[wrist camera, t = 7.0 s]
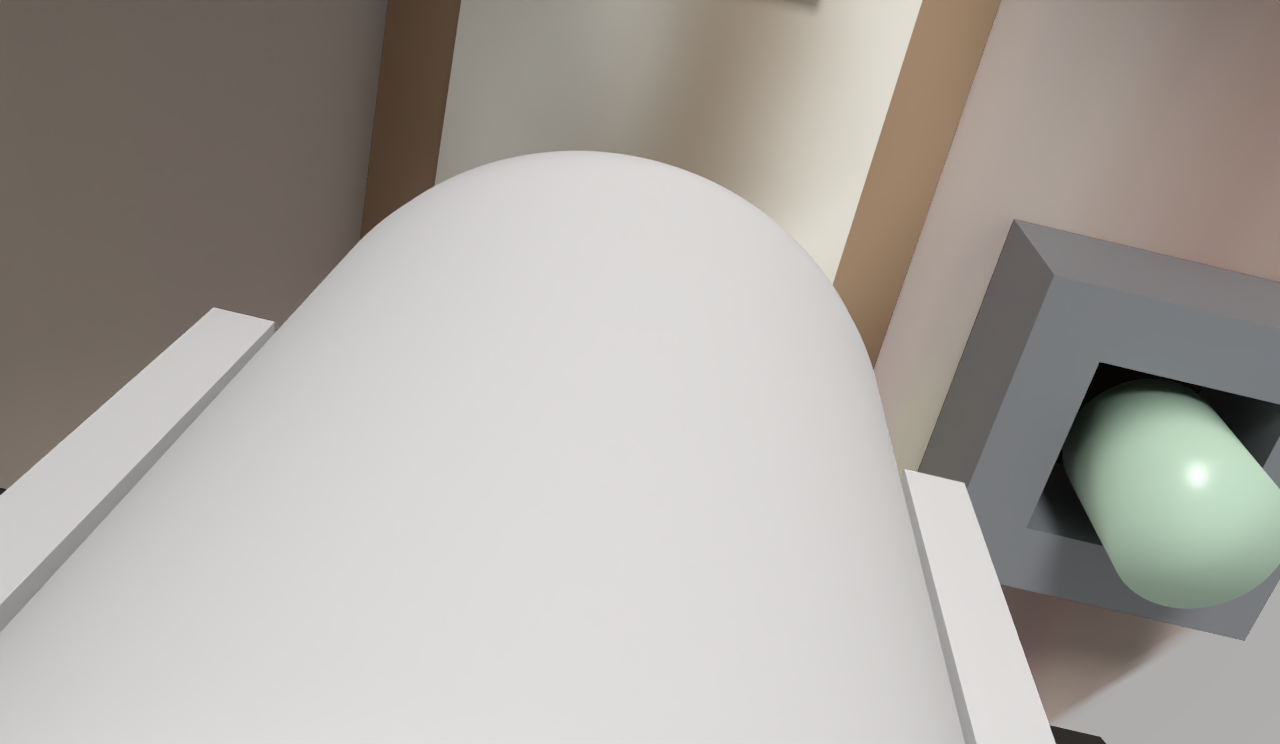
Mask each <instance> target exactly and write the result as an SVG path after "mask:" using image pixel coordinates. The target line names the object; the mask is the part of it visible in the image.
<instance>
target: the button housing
mask: <svg viewBox="0 0 1280 744" xmlns="http://www.w3.org/2000/svg"><path fill="white" fill-rule="evenodd" d="M1099 362H1102V363H1106V364H1111V365H1115V366H1119V367H1123V368H1128V369H1132V370H1136V371H1140V372H1145V373H1149V374H1153V375H1157V376H1161V377H1166V378H1170V379H1174V380H1178V381H1183V382H1187V383H1191V384H1195V385H1200V386H1202V388H1201V390H1200V392H1199V394H1200V395H1201V396H1202V397H1203V398H1204V399H1205V400H1206V401H1207V402H1208V404H1209V405H1210V406H1211V407H1212V408H1213V410H1214V411H1215V412H1216V413H1217V414H1218V416H1219V417H1220V418H1221V419H1222V420H1223V422H1224V423H1225V424H1226V425H1227V426H1228V428H1229V429H1230V430H1231V431H1232V432H1233V434H1234V435H1235V436H1236V437H1237V438H1238V440H1239V441H1240V442H1241V443H1242V444H1243V446H1244V447H1245V448H1246V449H1247V450H1248V452H1249V453H1250V454H1251V455H1252V456H1253V458H1254V459H1255V460H1256V461H1257V462H1258V464H1259V465H1260V466H1261V467H1262V468H1263V470H1264V471H1265V472H1266V473H1267V474H1268V476H1269V477H1270V478H1271V479H1272V481H1273V482H1274V483H1275V484H1276V485H1277V487H1278V488H1279V489H1280V283H1279V282H1275V281H1271V280H1266V279H1262V278H1258V277H1254V276H1250V275H1246V274H1241V273H1237V272H1233V271H1229V270H1225V269H1220V268H1216V267H1212V266H1208V265H1204V264H1199V263H1195V262H1191V261H1187V260H1183V259H1178V258H1174V257H1170V256H1166V255H1162V254H1158V253H1153V252H1149V251H1145V250H1141V249H1137V248H1132V247H1128V246H1124V245H1120V244H1116V243H1111V242H1107V241H1103V240H1099V239H1095V238H1090V237H1086V236H1082V235H1078V234H1074V233H1070V232H1065V231H1061V230H1057V229H1053V228H1049V227H1044V226H1040V225H1036V224H1032V223H1028V222H1023V221H1019V220H1015V219H1014V221H1013V224H1012V226H1011V229H1010V232H1009V234H1008V237H1007V240H1006V242H1005V245H1004V247H1003V250H1002V253H1001V255H1000V258H999V261H998V263H997V266H996V268H995V271H994V274H993V276H992V279H991V281H990V284H989V287H988V289H987V292H986V295H985V297H984V300H983V302H982V305H981V308H980V310H979V313H978V316H977V318H976V321H975V323H974V326H973V329H972V331H971V334H970V337H969V339H968V342H967V344H966V347H965V350H964V352H963V355H962V358H961V360H960V363H959V365H958V368H957V371H956V373H955V376H954V379H953V381H952V384H951V386H950V389H949V392H948V394H947V397H946V400H945V402H944V405H943V407H942V410H941V413H940V415H939V418H938V420H937V423H936V426H935V428H934V431H933V434H932V436H931V439H930V441H929V444H928V447H927V449H926V452H925V455H924V457H923V460H922V462H921V465H920V468H919V470H918V472H920V473H924V474H928V475H933V476H937V477H941V478H945V479H950V480H954V481H958V482H963V483H965V486H966V489H967V492H968V494H969V497H970V500H971V503H972V506H973V509H974V512H975V514H976V517H977V520H978V523H979V526H980V529H981V531H982V534H983V537H984V540H985V543H986V546H987V549H988V551H989V554H990V557H991V560H992V563H993V566H994V569H995V571H996V574H997V577H998V580H999V583H1000V584H1001V585H1006V586H1010V587H1014V588H1019V589H1023V590H1027V591H1031V592H1036V593H1040V594H1044V595H1049V596H1053V597H1057V598H1062V599H1066V600H1070V601H1075V602H1079V603H1083V604H1088V605H1092V606H1096V607H1101V608H1105V609H1109V610H1114V611H1118V612H1122V613H1127V614H1131V615H1135V616H1140V617H1144V618H1148V619H1153V620H1157V621H1161V622H1166V623H1170V624H1174V625H1179V626H1183V627H1187V628H1192V629H1196V630H1200V631H1205V632H1209V633H1213V634H1218V635H1222V636H1227V637H1231V638H1235V639H1239V640H1243V641H1244V640H1245V639H1246V637H1247V635H1248V634H1249V632H1250V630H1251V628H1252V627H1253V625H1254V623H1255V621H1256V619H1257V618H1258V616H1259V614H1260V613H1261V611H1262V609H1263V607H1264V606H1265V604H1266V602H1267V600H1268V599H1269V597H1270V595H1271V593H1272V592H1273V590H1274V588H1275V586H1276V585H1277V583H1278V581H1279V579H1280V564H1279V565H1278V567H1277V568H1276V569H1275V570H1274V571H1273V573H1272V574H1271V575H1270V576H1269V577H1268V578H1267V579H1266V580H1264V581H1263V582H1262V583H1261V584H1260V585H1258V586H1257V587H1256V588H1254V589H1253V590H1251V591H1249V592H1248V593H1246V594H1244V595H1242V596H1240V597H1238V598H1236V599H1234V600H1231V601H1228V602H1226V603H1223V604H1219V605H1215V606H1211V607H1204V608H1194V609H1182V608H1172V607H1167V606H1162V605H1159V604H1156V603H1153V602H1151V601H1148V600H1146V599H1144V598H1142V597H1141V596H1139V595H1137V594H1136V593H1135V592H1133V591H1132V590H1131V589H1130V588H1129V587H1128V586H1127V585H1126V584H1125V583H1124V582H1123V581H1122V579H1121V578H1120V576H1119V575H1118V573H1117V571H1116V570H1115V568H1114V566H1113V564H1112V562H1111V560H1110V558H1109V556H1108V554H1107V552H1106V550H1105V548H1104V546H1103V544H1102V542H1101V540H1100V539H1099V537H1098V535H1097V533H1096V531H1095V529H1094V527H1093V525H1092V523H1091V521H1090V519H1089V517H1088V515H1087V513H1086V511H1085V509H1084V507H1083V506H1082V504H1081V502H1080V500H1079V498H1078V496H1077V494H1076V492H1075V490H1074V488H1073V486H1072V484H1071V482H1070V480H1069V478H1068V476H1067V474H1066V472H1065V468H1064V465H1063V464H1058V463H1055V462H1056V460H1057V457H1058V455H1059V453H1060V451H1061V448H1062V446H1063V444H1064V441H1065V439H1066V437H1067V435H1068V432H1069V430H1070V428H1071V426H1072V423H1073V421H1074V419H1075V417H1076V414H1077V412H1078V410H1079V407H1080V405H1081V403H1082V401H1083V398H1084V396H1085V394H1086V392H1087V389H1088V387H1089V385H1090V383H1091V380H1092V378H1093V376H1094V373H1095V371H1096V369H1097V367H1098V364H1099Z"/></svg>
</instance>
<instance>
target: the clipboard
mask: <svg viewBox="0 0 1280 744" xmlns="http://www.w3.org/2000/svg"><path fill="white" fill-rule="evenodd" d="M1000 2H1001V0H388V7H387V16H386V24H385V33H384V42H383V50H382V59H381V67H380V76H379V84H378V93H377V101H376V110H375V118H374V127H373V135H372V144H371V152H370V161H369V169H368V178H367V186H366V195H365V203H364V212H363V220H362V229H361V237H360V240H361V239H362V238H363V237H364V236H365V235H366V234H367V233H368V232H369V231H371V230H372V229H373V228H374V227H375V226H376V225H377V224H379V223H380V222H381V221H382V220H384V219H385V218H386V217H388V216H389V215H390V214H392V213H393V212H394V211H396V210H397V209H399V208H400V207H402V206H403V205H405V204H406V203H408V202H410V201H411V200H412V199H414V198H416V197H417V196H419V195H420V194H422V193H423V192H425V191H427V190H428V189H430V188H432V187H434V186H436V185H438V184H439V183H441V182H443V181H445V180H448V179H450V178H452V177H454V176H456V175H459V174H461V173H463V172H466V171H468V170H471V169H474V168H476V167H479V166H482V165H486V164H489V163H492V162H496V161H500V160H503V159H508V158H512V157H517V156H522V155H528V154H535V153H543V152H554V151H599V152H610V153H618V154H625V155H631V156H636V157H641V158H646V159H650V160H654V161H658V162H662V163H665V164H669V165H672V166H675V167H678V168H681V169H684V170H686V171H689V172H692V173H694V174H697V175H699V176H701V177H704V178H706V179H708V180H710V181H712V182H714V183H716V184H719V185H720V186H722V187H724V188H726V189H728V190H730V191H732V192H733V193H735V194H737V195H738V196H740V197H742V198H743V199H745V200H747V201H748V202H750V203H751V204H753V205H754V206H755V207H757V208H758V209H760V210H761V211H762V212H764V213H765V214H766V215H768V216H769V217H770V218H772V219H773V220H774V221H775V222H776V223H778V224H779V225H780V226H781V227H782V228H783V229H785V230H786V231H787V232H788V233H789V234H790V235H791V236H792V237H793V238H794V239H795V240H796V241H797V242H798V243H799V244H800V245H801V246H802V247H803V248H804V249H805V250H806V251H807V252H808V254H809V255H810V256H811V257H812V258H813V259H814V261H815V262H816V263H817V264H818V266H819V267H820V268H821V269H822V271H823V272H824V273H825V275H826V276H827V278H828V279H829V280H830V282H831V283H832V285H833V286H834V288H835V289H836V291H837V293H838V294H839V296H840V298H841V299H842V301H843V303H844V305H845V306H846V308H847V310H848V312H849V314H850V316H851V318H852V320H853V322H854V323H855V325H856V327H857V329H858V332H859V334H860V336H861V338H862V340H863V343H864V345H865V348H866V350H867V353H868V355H869V358H870V361H871V364H872V368H873V369H874V366H875V363H876V361H877V358H878V355H879V352H880V349H881V346H882V343H883V340H884V337H885V335H886V332H887V329H888V326H889V323H890V320H891V317H892V314H893V311H894V308H895V306H896V303H897V300H898V297H899V294H900V291H901V288H902V285H903V282H904V280H905V277H906V274H907V271H908V268H909V265H910V262H911V259H912V256H913V253H914V251H915V248H916V245H917V242H918V239H919V236H920V233H921V230H922V227H923V224H924V222H925V219H926V216H927V213H928V210H929V207H930V204H931V201H932V198H933V196H934V193H935V190H936V187H937V184H938V181H939V178H940V175H941V172H942V169H943V167H944V164H945V161H946V158H947V155H948V152H949V149H950V146H951V143H952V141H953V138H954V135H955V132H956V129H957V126H958V123H959V120H960V117H961V114H962V112H963V109H964V106H965V103H966V100H967V97H968V94H969V91H970V88H971V85H972V83H973V80H974V77H975V74H976V71H977V68H978V65H979V62H980V59H981V57H982V54H983V51H984V48H985V45H986V42H987V39H988V36H989V33H990V30H991V28H992V25H993V22H994V19H995V16H996V13H997V10H998V7H999V4H1000Z"/></svg>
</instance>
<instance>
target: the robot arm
mask: <svg viewBox="0 0 1280 744" xmlns="http://www.w3.org/2000/svg"><path fill="white" fill-rule="evenodd" d="M274 329H275V322H274V321H270V320H265V319H261V318H257V317H253V316H248V315H244V314H240V313H236V312H231V311H227V310H223V309H218V308H214V307H213V308H212V309H211V310H210V311H209V312H208V313H207V314H205V315H204V316H203V317H202V318H201V319H200V320H199V321H197V322H196V323H195V324H194V325H193V326H192V327H191V328H190V329H188V330H187V331H186V332H185V333H184V334H183V335H182V336H180V337H179V338H178V339H177V340H176V341H175V342H174V343H173V344H171V345H170V346H169V347H168V348H167V349H166V350H165V351H163V352H162V353H161V354H160V355H159V356H158V357H157V358H156V359H154V360H153V361H152V362H151V363H150V364H149V365H148V366H146V367H145V368H144V369H143V370H142V371H141V372H140V373H138V374H137V375H136V376H135V377H134V378H133V379H132V380H131V381H129V382H128V383H127V384H126V385H125V386H124V387H123V388H121V389H120V390H119V391H118V392H117V393H116V394H115V395H114V396H112V397H111V398H110V399H109V400H108V401H107V402H106V403H104V404H103V405H102V406H101V407H100V408H99V409H98V410H97V411H95V412H94V413H93V414H92V415H91V416H90V417H89V418H87V419H86V420H85V421H84V422H83V423H82V424H81V425H80V426H78V427H77V428H76V429H75V430H74V431H73V432H72V433H70V434H69V435H68V436H67V437H66V438H65V439H64V440H63V441H61V442H60V443H59V444H58V445H57V446H56V447H55V448H53V449H52V450H51V451H50V452H49V453H48V454H47V455H46V456H44V457H43V458H42V459H41V460H40V461H39V462H38V463H36V464H35V465H34V466H33V467H32V468H31V469H30V470H29V471H27V472H26V473H25V474H24V475H23V476H22V477H21V478H19V479H18V480H17V481H16V482H15V483H14V484H13V485H12V486H10V487H9V488H8V489H3V488H0V632H1V631H2V630H3V629H4V628H5V627H6V626H7V625H8V624H9V623H10V621H11V620H12V619H13V618H14V617H15V616H16V615H17V614H18V613H19V612H20V611H21V609H22V608H23V607H24V606H25V605H26V604H27V603H28V602H29V601H30V600H31V599H32V597H33V596H34V595H35V594H36V593H37V592H38V591H39V590H40V589H41V588H42V587H43V585H44V584H45V583H46V582H47V581H48V580H49V579H50V578H51V577H52V576H53V575H54V573H55V572H56V571H57V570H58V569H59V568H60V567H61V566H62V565H63V564H64V563H65V561H66V560H67V559H68V558H69V557H70V556H71V555H72V554H73V553H74V552H75V551H76V549H77V548H78V547H79V546H80V545H81V544H82V543H83V542H84V541H85V540H86V539H87V537H88V536H89V535H90V534H91V533H92V532H93V531H94V530H95V529H96V528H97V527H98V525H99V524H100V523H101V522H102V521H103V520H104V519H105V518H106V517H107V516H108V515H109V513H110V512H111V511H112V510H113V509H114V508H115V507H116V506H117V505H118V504H119V503H120V501H121V500H122V499H123V498H124V497H125V496H126V495H127V494H128V493H129V492H130V491H131V489H132V488H133V487H134V486H135V485H136V484H137V483H138V482H139V481H140V480H141V479H142V477H143V476H144V475H145V474H146V473H147V472H148V471H149V470H150V469H151V468H152V467H153V465H154V464H155V463H156V462H157V461H158V460H159V459H160V458H161V457H162V456H163V455H164V453H165V452H166V451H167V450H168V449H169V448H170V447H171V446H172V445H173V444H174V443H175V441H176V440H177V439H178V438H179V437H180V436H181V435H182V434H183V433H184V432H185V431H186V429H187V428H188V427H189V426H190V425H191V424H192V423H193V422H194V421H195V420H196V419H197V417H198V416H199V415H200V414H201V413H202V412H203V411H204V410H205V409H206V408H207V407H208V405H209V404H210V403H211V402H212V401H213V400H214V399H215V398H216V397H217V396H218V395H219V393H220V392H221V391H222V390H223V389H224V388H225V387H226V386H227V385H228V384H229V383H230V381H231V380H232V379H233V378H234V377H235V376H236V375H237V374H238V373H239V372H240V371H241V369H242V368H243V367H244V366H245V365H246V364H247V363H248V362H249V361H250V360H251V359H252V357H253V356H254V355H255V354H256V353H257V352H258V351H259V350H260V349H261V348H262V347H263V345H264V344H265V343H266V342H267V341H268V340H269V339H270V338H271V337H272V336H273V335H274ZM901 484H902V488H903V492H904V496H905V500H906V505H907V509H908V513H909V517H910V521H911V525H912V529H913V533H914V537H915V541H916V545H917V549H918V554H919V558H920V562H921V566H922V570H923V574H924V578H925V582H926V586H927V590H928V594H929V598H930V603H931V607H932V611H933V615H934V619H935V623H936V627H937V631H938V635H939V639H940V643H941V647H942V651H943V656H944V660H945V664H946V668H947V672H948V676H949V680H950V684H951V688H952V692H953V696H954V700H955V705H956V709H957V713H958V717H959V721H960V725H961V729H962V733H963V737H964V741H965V744H1106V743H1105V742H1104V741H1103V740H1102V739H1101V737H1098V736H1094V735H1089V734H1085V733H1080V732H1076V731H1072V730H1068V729H1063V728H1059V727H1055V726H1050V725H1049V723H1048V720H1047V717H1046V714H1045V711H1044V708H1043V705H1042V703H1041V700H1040V697H1039V694H1038V691H1037V688H1036V685H1035V683H1034V680H1033V677H1032V674H1031V671H1030V668H1029V666H1028V663H1027V660H1026V657H1025V654H1024V651H1023V648H1022V646H1021V643H1020V640H1019V637H1018V634H1017V631H1016V628H1015V626H1014V623H1013V620H1012V617H1011V614H1010V611H1009V608H1008V606H1007V603H1006V600H1005V597H1004V594H1003V591H1002V589H1001V586H1000V583H999V580H998V577H997V574H996V571H995V569H994V566H993V563H992V560H991V557H990V554H989V551H988V549H987V546H986V543H985V540H984V537H983V534H982V531H981V529H980V526H979V523H978V520H977V517H976V514H975V512H974V509H973V506H972V503H971V500H970V497H969V494H968V492H967V489H966V486H965V483H963V482H958V481H954V480H950V479H945V478H941V477H937V476H933V475H928V474H924V473H920V472H916V471H911V470H907V469H904V471H903V474H902V477H901Z"/></svg>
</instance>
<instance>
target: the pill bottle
mask: <svg viewBox="0 0 1280 744" xmlns="http://www.w3.org/2000/svg"><path fill="white" fill-rule="evenodd" d="M0 744H965V741H964V737H963V733H962V729H961V725H960V721H959V717H958V713H957V709H956V705H955V700H954V696H953V692H952V688H951V684H950V680H949V676H948V672H947V668H946V664H945V660H944V656H943V651H942V647H941V643H940V639H939V635H938V631H937V627H936V623H935V619H934V615H933V611H932V607H931V603H930V598H929V594H928V590H927V586H926V582H925V578H924V574H923V570H922V566H921V562H920V558H919V554H918V549H917V545H916V541H915V537H914V533H913V529H912V525H911V521H910V517H909V513H908V509H907V505H906V500H905V496H904V492H903V488H902V484H901V480H900V476H899V472H898V468H897V464H896V460H895V456H894V452H893V447H892V443H891V439H890V435H889V431H888V427H887V423H886V419H885V415H884V411H883V407H882V403H881V398H880V394H879V390H878V386H877V382H876V378H875V374H874V371H873V368H872V364H871V361H870V358H869V355H868V353H867V350H866V348H865V345H864V343H863V340H862V338H861V336H860V334H859V332H858V329H857V327H856V325H855V323H854V322H853V320H852V318H851V316H850V314H849V312H848V310H847V308H846V306H845V305H844V303H843V301H842V299H841V298H840V296H839V294H838V293H837V291H836V289H835V288H834V286H833V285H832V283H831V282H830V280H829V279H828V278H827V276H826V275H825V273H824V272H823V271H822V269H821V268H820V267H819V266H818V264H817V263H816V262H815V261H814V259H813V258H812V257H811V256H810V255H809V254H808V252H807V251H806V250H805V249H804V248H803V247H802V246H801V245H800V244H799V243H798V242H797V241H796V240H795V239H794V238H793V237H792V236H791V235H790V234H789V233H788V232H787V231H786V230H785V229H783V228H782V227H781V226H780V225H779V224H778V223H776V222H775V221H774V220H773V219H772V218H770V217H769V216H768V215H766V214H765V213H764V212H762V211H761V210H760V209H758V208H757V207H755V206H754V205H753V204H751V203H750V202H748V201H747V200H745V199H743V198H742V197H740V196H738V195H737V194H735V193H733V192H732V191H730V190H728V189H726V188H724V187H722V186H720V185H719V184H716V183H714V182H712V181H710V180H708V179H706V178H704V177H701V176H699V175H697V174H694V173H692V172H689V171H686V170H684V169H681V168H678V167H675V166H672V165H669V164H665V163H662V162H658V161H654V160H650V159H646V158H641V157H636V156H631V155H625V154H618V153H610V152H599V151H554V152H543V153H535V154H528V155H522V156H517V157H512V158H508V159H503V160H500V161H496V162H492V163H489V164H486V165H482V166H479V167H476V168H474V169H471V170H468V171H466V172H463V173H461V174H459V175H456V176H454V177H452V178H450V179H448V180H445V181H443V182H441V183H439V184H438V185H436V186H434V187H432V188H430V189H428V190H427V191H425V192H423V193H422V194H420V195H419V196H417V197H416V198H414V199H412V200H411V201H410V202H408V203H406V204H405V205H403V206H402V207H400V208H399V209H397V210H396V211H394V212H393V213H392V214H390V215H389V216H388V217H386V218H385V219H384V220H382V221H381V222H380V223H379V224H377V225H376V226H375V227H374V228H373V229H372V230H371V231H369V232H368V233H367V234H366V235H365V236H364V237H363V238H362V239H361V240H360V241H359V242H358V243H357V244H356V245H355V246H354V247H353V248H352V249H351V251H350V252H349V253H348V254H347V255H346V256H345V257H344V258H343V259H342V260H341V261H340V263H339V264H338V265H337V266H336V267H335V268H334V269H333V270H332V271H331V272H330V273H329V275H328V276H327V277H326V278H325V279H324V280H323V281H322V282H321V283H320V284H319V285H318V287H317V288H316V289H315V290H314V291H313V292H312V293H311V294H310V295H309V296H308V297H307V299H306V300H305V301H304V302H303V303H302V304H301V305H300V306H299V307H298V308H297V309H296V311H295V312H294V313H293V314H292V315H291V316H290V317H289V318H288V319H287V320H286V321H285V323H284V324H283V325H282V326H281V327H280V328H279V329H278V330H277V331H276V332H275V333H274V335H273V336H272V337H271V338H270V339H269V340H268V341H267V342H266V343H265V344H264V345H263V347H262V348H261V349H260V350H259V351H258V352H257V353H256V354H255V355H254V356H253V357H252V359H251V360H250V361H249V362H248V363H247V364H246V365H245V366H244V367H243V368H242V369H241V371H240V372H239V373H238V374H237V375H236V376H235V377H234V378H233V379H232V380H231V381H230V383H229V384H228V385H227V386H226V387H225V388H224V389H223V390H222V391H221V392H220V393H219V395H218V396H217V397H216V398H215V399H214V400H213V401H212V402H211V403H210V404H209V405H208V407H207V408H206V409H205V410H204V411H203V412H202V413H201V414H200V415H199V416H198V417H197V419H196V420H195V421H194V422H193V423H192V424H191V425H190V426H189V427H188V428H187V429H186V431H185V432H184V433H183V434H182V435H181V436H180V437H179V438H178V439H177V440H176V441H175V443H174V444H173V445H172V446H171V447H170V448H169V449H168V450H167V451H166V452H165V453H164V455H163V456H162V457H161V458H160V459H159V460H158V461H157V462H156V463H155V464H154V465H153V467H152V468H151V469H150V470H149V471H148V472H147V473H146V474H145V475H144V476H143V477H142V479H141V480H140V481H139V482H138V483H137V484H136V485H135V486H134V487H133V488H132V489H131V491H130V492H129V493H128V494H127V495H126V496H125V497H124V498H123V499H122V500H121V501H120V503H119V504H118V505H117V506H116V507H115V508H114V509H113V510H112V511H111V512H110V513H109V515H108V516H107V517H106V518H105V519H104V520H103V521H102V522H101V523H100V524H99V525H98V527H97V528H96V529H95V530H94V531H93V532H92V533H91V534H90V535H89V536H88V537H87V539H86V540H85V541H84V542H83V543H82V544H81V545H80V546H79V547H78V548H77V549H76V551H75V552H74V553H73V554H72V555H71V556H70V557H69V558H68V559H67V560H66V561H65V563H64V564H63V565H62V566H61V567H60V568H59V569H58V570H57V571H56V572H55V573H54V575H53V576H52V577H51V578H50V579H49V580H48V581H47V582H46V583H45V584H44V585H43V587H42V588H41V589H40V590H39V591H38V592H37V593H36V594H35V595H34V596H33V597H32V599H31V600H30V601H29V602H28V603H27V604H26V605H25V606H24V607H23V608H22V609H21V611H20V612H19V613H18V614H17V615H16V616H15V617H14V618H13V619H12V620H11V621H10V623H9V624H8V625H7V626H6V627H5V628H4V629H3V630H2V631H1V632H0Z"/></svg>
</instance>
